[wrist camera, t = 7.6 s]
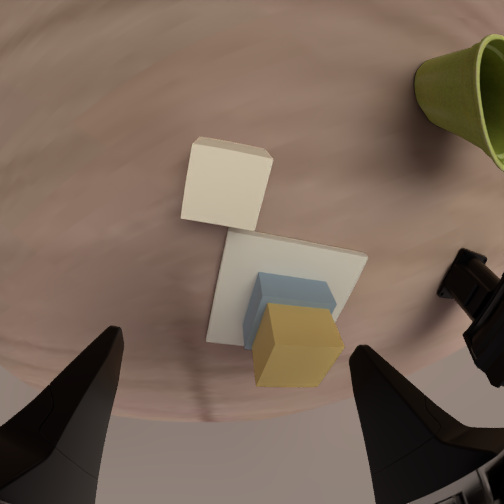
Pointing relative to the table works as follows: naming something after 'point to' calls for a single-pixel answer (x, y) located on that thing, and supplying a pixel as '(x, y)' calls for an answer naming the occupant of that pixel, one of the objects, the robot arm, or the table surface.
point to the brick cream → (225, 183)
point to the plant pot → (467, 94)
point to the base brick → (283, 299)
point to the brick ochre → (295, 346)
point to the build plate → (275, 262)
